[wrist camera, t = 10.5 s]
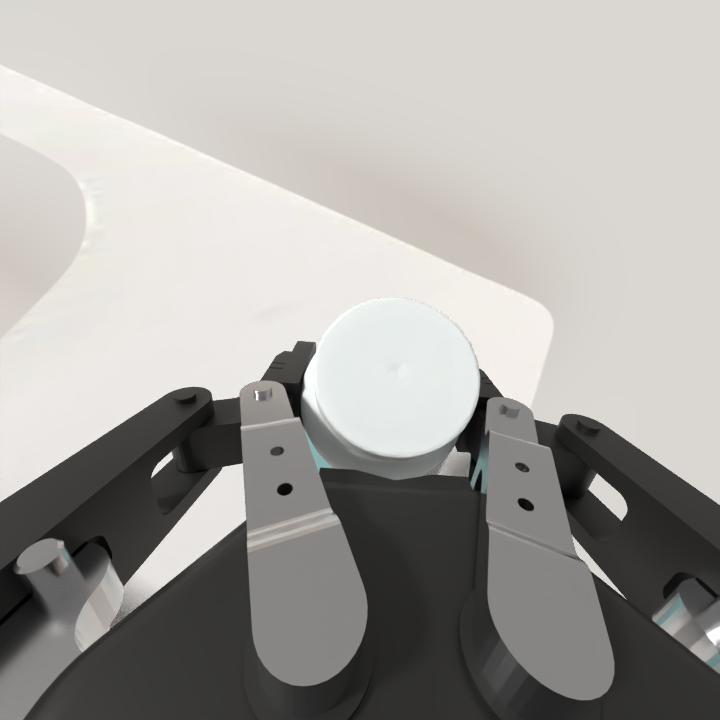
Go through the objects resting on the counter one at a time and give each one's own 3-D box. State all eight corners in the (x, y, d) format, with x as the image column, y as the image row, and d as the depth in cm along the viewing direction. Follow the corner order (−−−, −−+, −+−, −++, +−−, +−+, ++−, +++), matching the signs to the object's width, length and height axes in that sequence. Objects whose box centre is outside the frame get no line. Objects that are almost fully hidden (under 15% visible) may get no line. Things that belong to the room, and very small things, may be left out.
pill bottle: (425, 389, 17) (520, 300, 8) (406, 489, 15) (500, 527, 6) (334, 365, 17) (321, 250, 8) (305, 460, 15) (243, 454, 6)
